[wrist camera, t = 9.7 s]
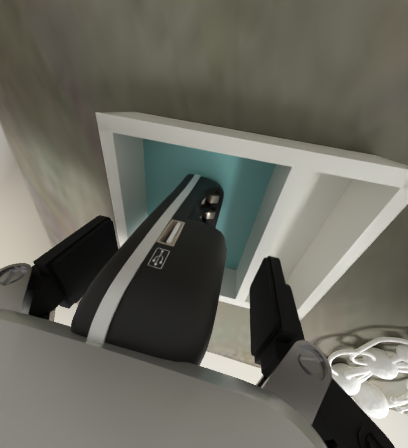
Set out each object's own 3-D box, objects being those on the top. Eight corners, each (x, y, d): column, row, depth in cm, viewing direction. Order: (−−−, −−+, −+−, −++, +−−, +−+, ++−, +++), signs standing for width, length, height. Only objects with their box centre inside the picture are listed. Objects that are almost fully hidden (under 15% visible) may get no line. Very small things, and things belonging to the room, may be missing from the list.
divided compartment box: (376, 155, 11) (434, 174, 7) (289, 283, 18) (299, 321, 15) (135, 112, 12) (95, 111, 9) (145, 248, 19) (125, 276, 16)
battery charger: (216, 249, 17) (181, 431, 7) (178, 239, 17) (96, 402, 7) (238, 180, 13) (223, 386, 3) (188, 168, 13) (33, 327, 3)
